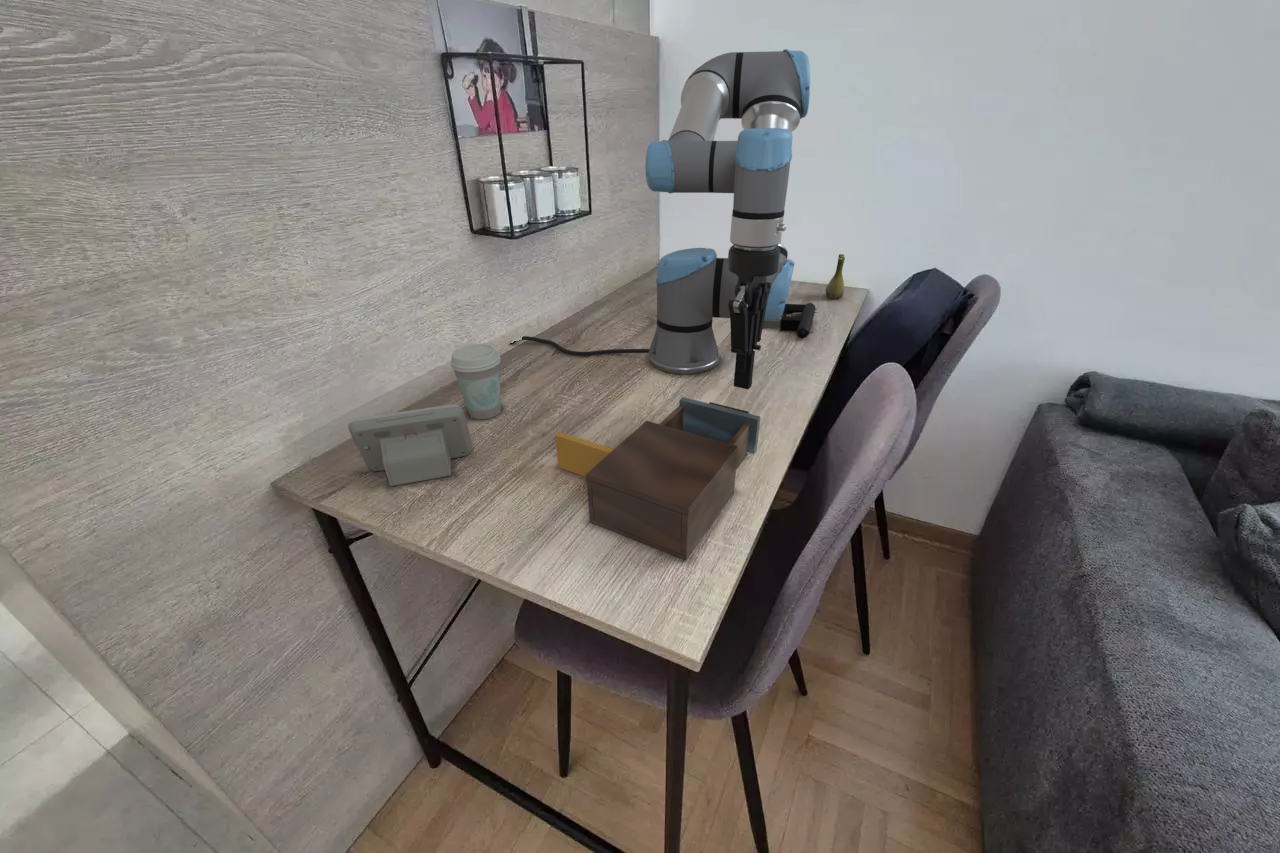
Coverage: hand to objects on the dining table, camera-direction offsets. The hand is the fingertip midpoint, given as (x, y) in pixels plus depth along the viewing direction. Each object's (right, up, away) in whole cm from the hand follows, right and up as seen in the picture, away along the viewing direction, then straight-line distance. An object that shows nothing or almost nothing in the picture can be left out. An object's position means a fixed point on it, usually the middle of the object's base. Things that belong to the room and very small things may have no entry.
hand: (742, 386), depth 94 cm
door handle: (+18, +19, +44) cm, 51 cm away
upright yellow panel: (-26, -14, -10) cm, 31 cm away
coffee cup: (-46, -4, +7) cm, 47 cm away
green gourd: (+37, +29, +61) cm, 77 cm away
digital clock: (-52, -13, -8) cm, 54 cm away
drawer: (-7, -11, -8) cm, 16 cm away
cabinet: (-14, -18, -17) cm, 29 cm away
